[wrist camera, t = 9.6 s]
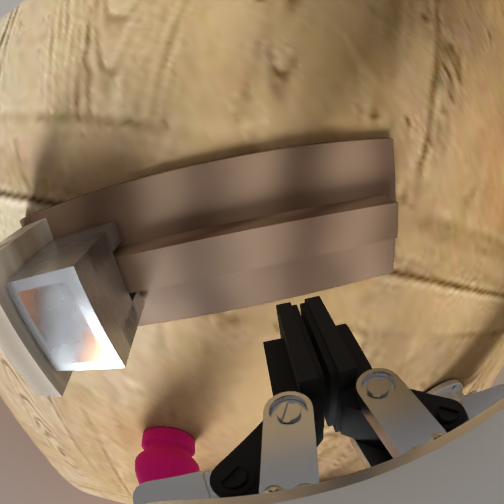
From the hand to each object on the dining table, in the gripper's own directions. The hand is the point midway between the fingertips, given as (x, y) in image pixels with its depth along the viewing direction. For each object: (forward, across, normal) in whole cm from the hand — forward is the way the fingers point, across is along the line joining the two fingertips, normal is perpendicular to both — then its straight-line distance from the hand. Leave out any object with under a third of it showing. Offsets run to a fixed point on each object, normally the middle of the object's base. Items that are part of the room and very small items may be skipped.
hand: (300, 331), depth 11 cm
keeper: (+8, +11, -1) cm, 14 cm away
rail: (+9, +4, -1) cm, 10 cm away
